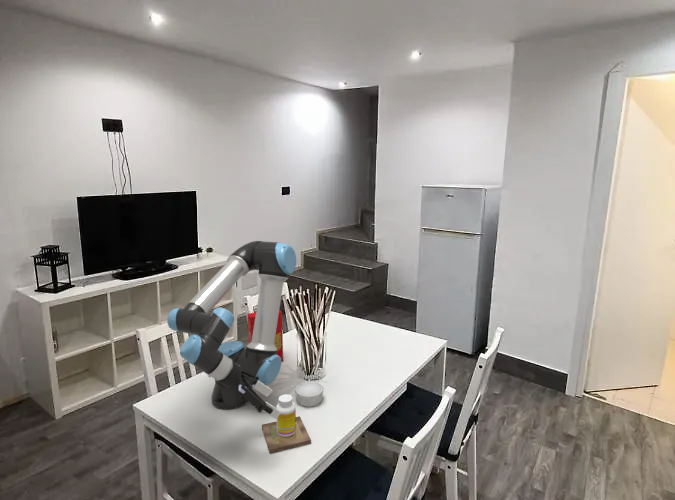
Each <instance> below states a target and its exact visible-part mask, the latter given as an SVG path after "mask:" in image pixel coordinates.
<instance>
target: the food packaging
mask: <svg viewBox="0 0 675 500" xmlns="http://www.w3.org/2000/svg"><path fill="white" fill-rule="evenodd" d="M255 317H256V311H255V312H249V313H247V334H248V335H247V337H248V344H249V343H251V341H252V336H253V329H254V323H255ZM283 334H284V333H283V312H282V311H281V309H279V315H278V321H277V328H276V335H275V341H274V345H275V347H276V348H277V354H276V355H278V356H280V358H281V363H284V341H283V337H284V335H283Z"/></svg>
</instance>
